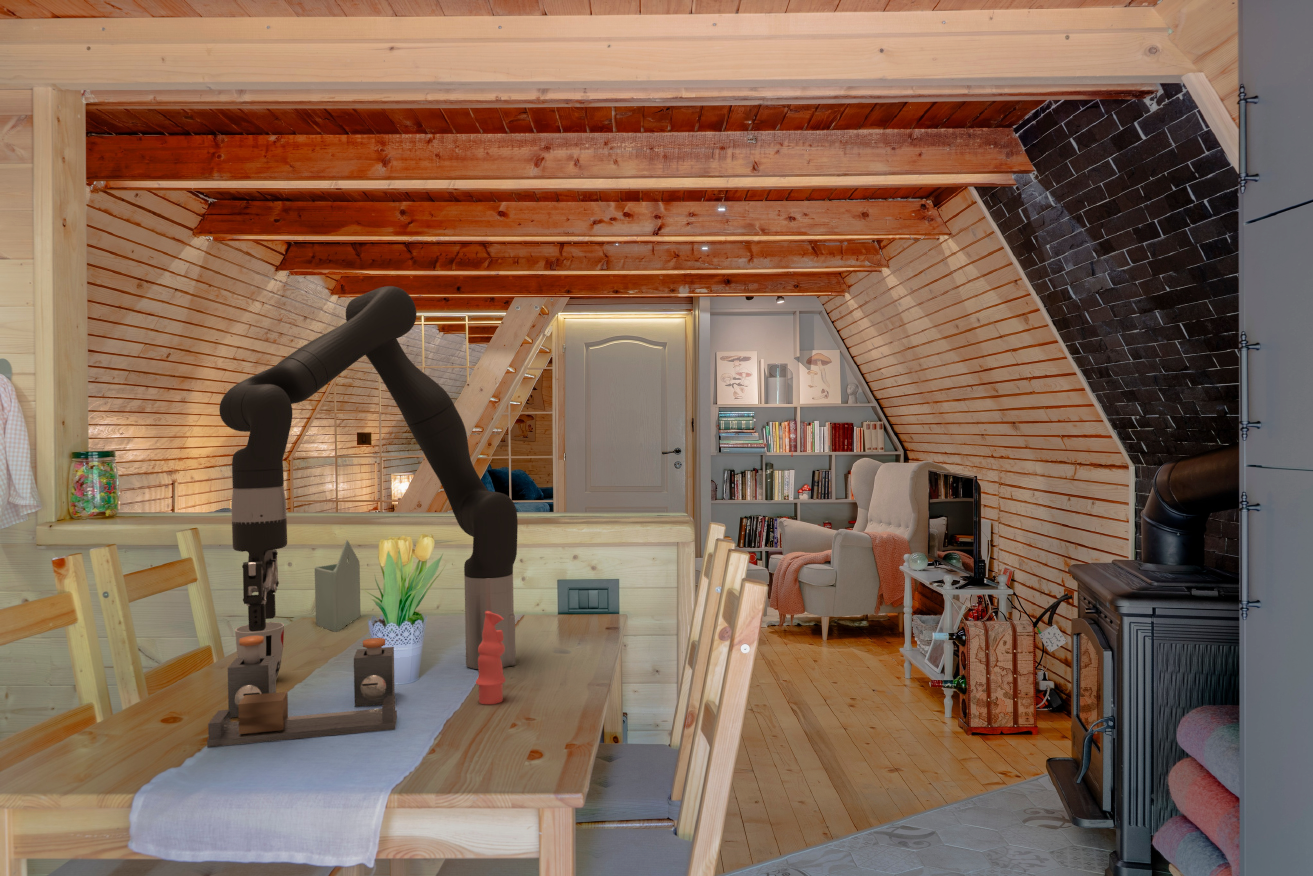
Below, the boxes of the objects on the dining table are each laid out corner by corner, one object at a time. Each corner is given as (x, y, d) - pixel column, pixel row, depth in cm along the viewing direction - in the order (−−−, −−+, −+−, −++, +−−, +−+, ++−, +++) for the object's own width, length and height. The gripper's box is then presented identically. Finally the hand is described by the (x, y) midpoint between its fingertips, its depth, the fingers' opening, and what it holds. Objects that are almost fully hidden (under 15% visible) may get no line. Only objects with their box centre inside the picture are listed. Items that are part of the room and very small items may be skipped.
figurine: (512, 697, 147) (511, 608, 146) (497, 706, 142) (496, 615, 142) (486, 694, 148) (484, 607, 148) (470, 703, 143) (468, 613, 143)
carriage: (288, 720, 133) (287, 691, 133) (283, 730, 129) (282, 700, 129) (245, 724, 131) (245, 695, 131) (239, 734, 127) (238, 704, 127)
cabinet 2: (394, 693, 150) (393, 646, 150) (392, 704, 144) (391, 656, 144) (358, 696, 148) (357, 649, 148) (354, 707, 142) (353, 659, 142)
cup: (266, 689, 153) (265, 633, 153) (226, 687, 155) (224, 631, 154) (294, 676, 161) (293, 622, 161) (255, 674, 163) (254, 621, 162)
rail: (396, 716, 138) (396, 695, 137) (394, 729, 132) (394, 707, 132) (217, 733, 131) (217, 710, 131) (207, 747, 125) (206, 723, 125)
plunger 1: (266, 660, 144) (265, 635, 144) (261, 666, 140) (261, 640, 140) (242, 662, 143) (241, 636, 143) (237, 667, 139) (237, 641, 139)
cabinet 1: (276, 703, 145) (275, 655, 145) (268, 715, 139) (267, 665, 139) (237, 706, 144) (236, 658, 144) (228, 718, 138) (226, 668, 138)
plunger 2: (386, 661, 148) (385, 637, 148) (385, 667, 145) (384, 642, 145) (364, 663, 148) (363, 638, 147) (362, 669, 144) (361, 643, 144)
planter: (328, 617, 212) (326, 536, 212) (361, 616, 212) (359, 535, 212) (302, 632, 196) (300, 545, 196) (337, 632, 196) (335, 544, 196)
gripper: (278, 521, 125) (282, 633, 125) (293, 511, 139) (296, 612, 139) (221, 523, 123) (225, 637, 123) (242, 514, 137) (245, 616, 137)
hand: (262, 624), depth 131 cm, fingers open, 8 cm apart
